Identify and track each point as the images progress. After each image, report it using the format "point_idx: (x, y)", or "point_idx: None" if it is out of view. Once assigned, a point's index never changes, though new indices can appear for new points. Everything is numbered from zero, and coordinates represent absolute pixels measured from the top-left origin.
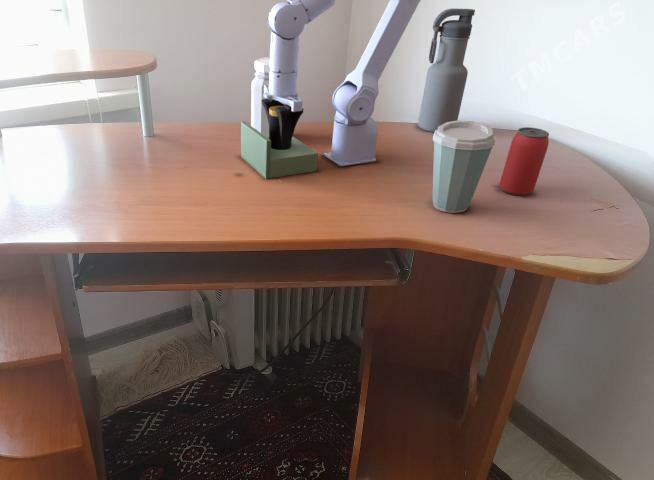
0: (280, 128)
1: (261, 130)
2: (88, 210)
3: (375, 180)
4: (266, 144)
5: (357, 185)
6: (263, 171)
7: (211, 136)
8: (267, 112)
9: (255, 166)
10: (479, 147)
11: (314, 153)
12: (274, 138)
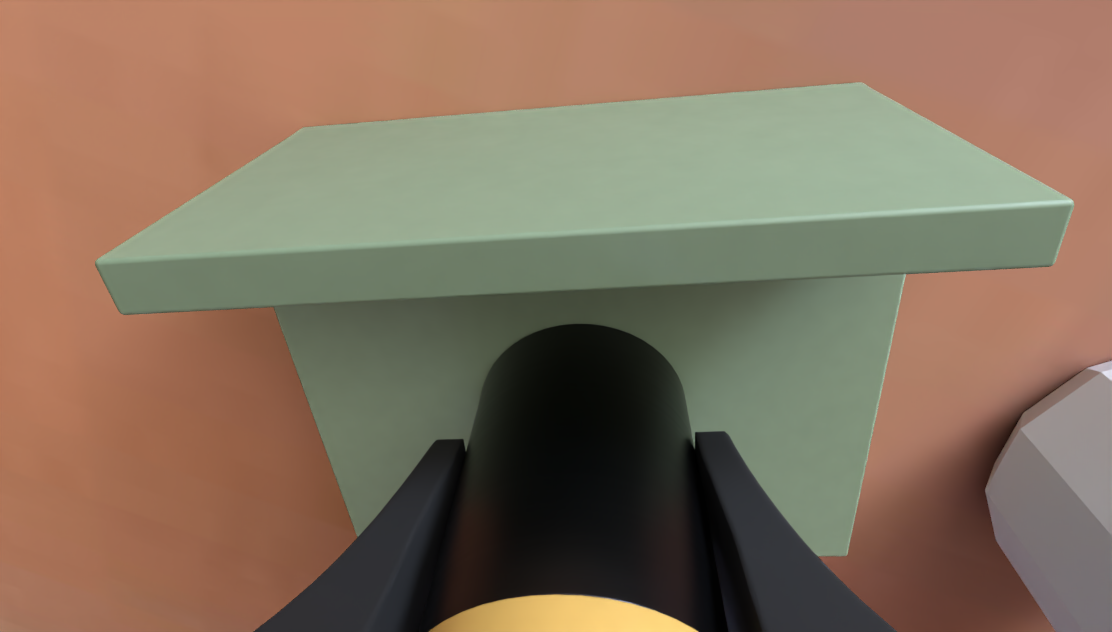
0: (402, 525)
1: None
2: None
3: (249, 625)
4: (128, 241)
5: (186, 550)
6: (331, 135)
7: None
8: (784, 602)
9: (508, 117)
10: None
11: None
12: (504, 404)
